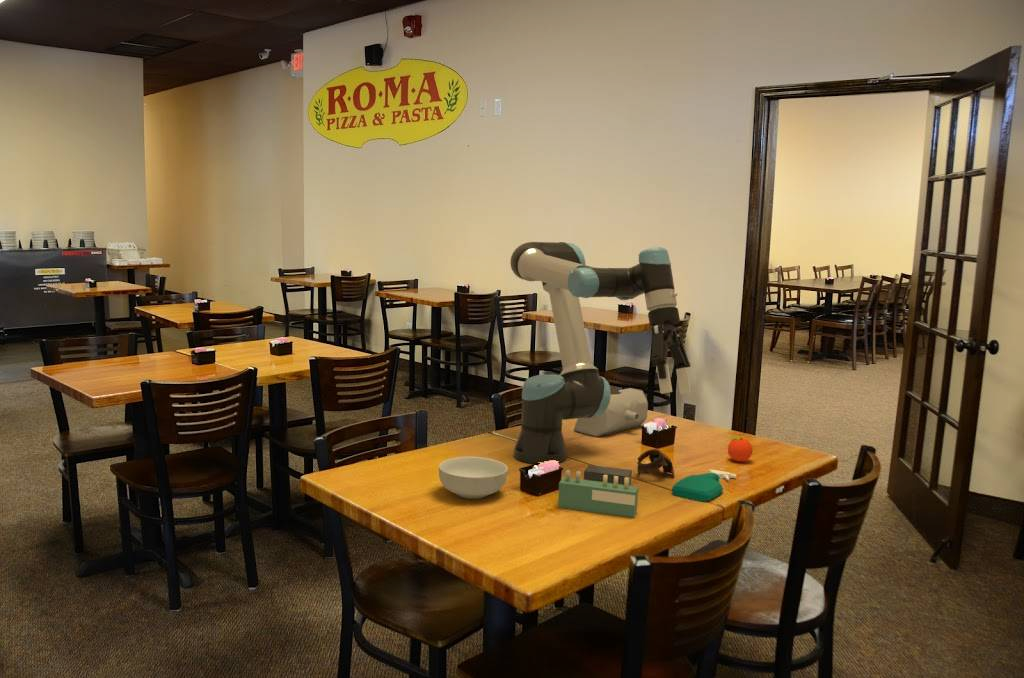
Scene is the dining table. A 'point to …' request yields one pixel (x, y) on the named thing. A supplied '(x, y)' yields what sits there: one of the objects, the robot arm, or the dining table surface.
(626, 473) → the block
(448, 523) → the dining table surface
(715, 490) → the spray bottle
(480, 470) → the cereal bowl
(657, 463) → the brown arched frame
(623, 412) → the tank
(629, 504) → the board
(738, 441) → the tomato
